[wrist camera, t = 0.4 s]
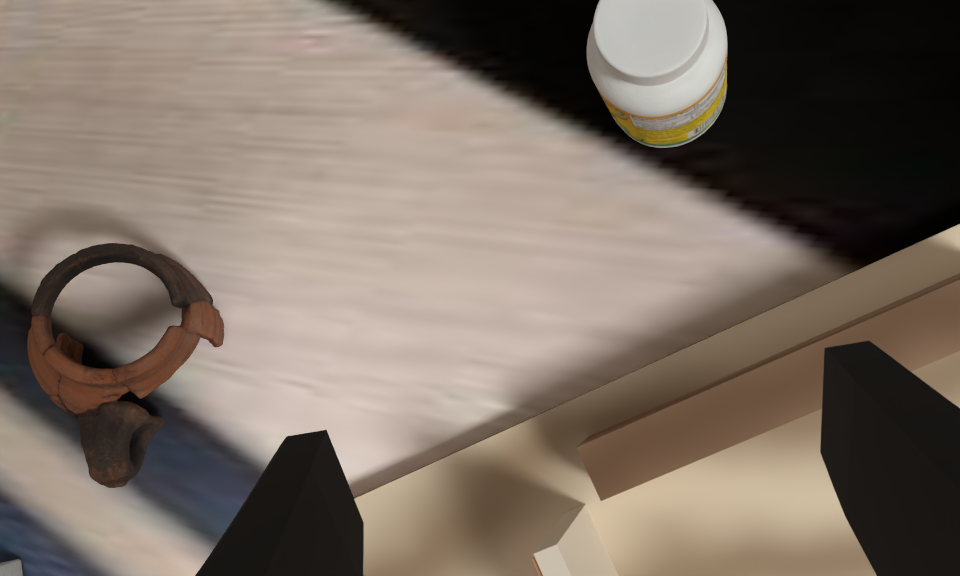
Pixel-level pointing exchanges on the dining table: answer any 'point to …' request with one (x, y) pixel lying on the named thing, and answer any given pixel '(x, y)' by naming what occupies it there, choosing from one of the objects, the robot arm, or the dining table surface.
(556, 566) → the tile
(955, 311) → the brown wooden bar
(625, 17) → the supplement bottle
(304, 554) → the robot arm
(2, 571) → the supplement box
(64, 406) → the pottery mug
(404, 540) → the board
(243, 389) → the dining table surface
